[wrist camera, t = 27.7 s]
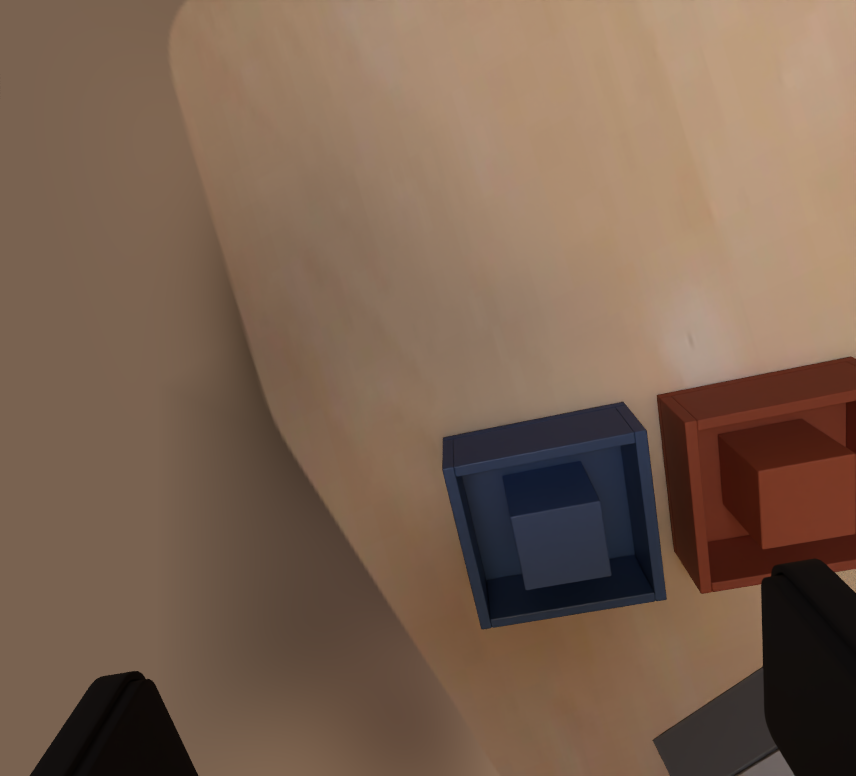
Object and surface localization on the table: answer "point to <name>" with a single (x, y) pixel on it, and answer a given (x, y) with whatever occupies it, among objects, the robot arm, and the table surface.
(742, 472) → the terracotta block
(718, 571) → the terracotta bin
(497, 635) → the table surface
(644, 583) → the blue bin
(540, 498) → the blue block
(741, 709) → the alarm clock
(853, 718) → the robot arm
